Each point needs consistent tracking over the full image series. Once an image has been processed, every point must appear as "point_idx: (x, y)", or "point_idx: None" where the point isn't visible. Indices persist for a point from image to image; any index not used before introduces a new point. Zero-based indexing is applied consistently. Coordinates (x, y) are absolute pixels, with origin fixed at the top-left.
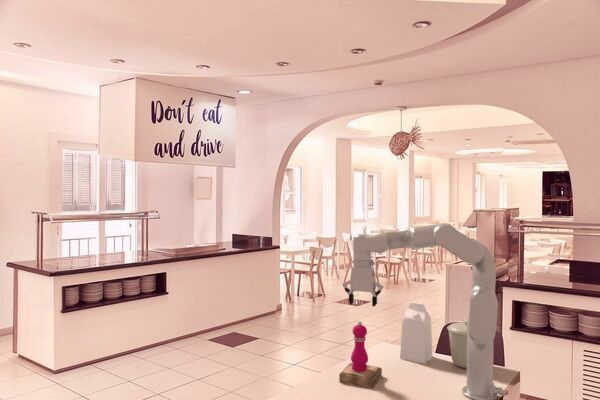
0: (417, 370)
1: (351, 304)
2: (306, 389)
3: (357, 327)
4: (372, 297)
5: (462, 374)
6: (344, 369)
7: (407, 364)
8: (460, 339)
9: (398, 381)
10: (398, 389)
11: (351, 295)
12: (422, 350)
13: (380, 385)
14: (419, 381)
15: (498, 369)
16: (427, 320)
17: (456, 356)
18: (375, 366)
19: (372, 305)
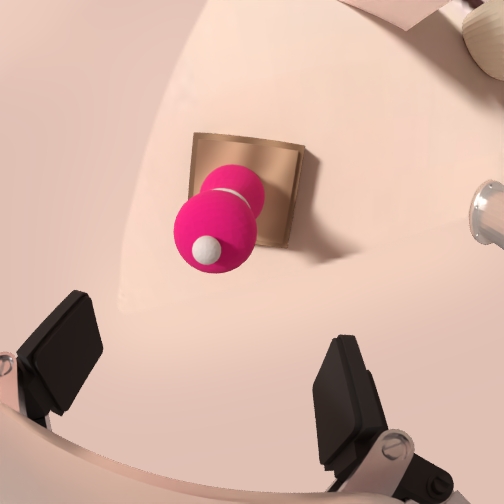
0: (394, 80)
1: (98, 338)
2: (139, 287)
3: (203, 269)
4: (323, 463)
5: (479, 101)
6: (190, 196)
7: (363, 37)
8: None
9: (350, 172)
10: (350, 227)
11: (61, 409)
12: (416, 15)
13: (304, 214)
14: (401, 160)
15: None
16: None
17: (485, 58)
18: (284, 149)
19: (314, 393)
